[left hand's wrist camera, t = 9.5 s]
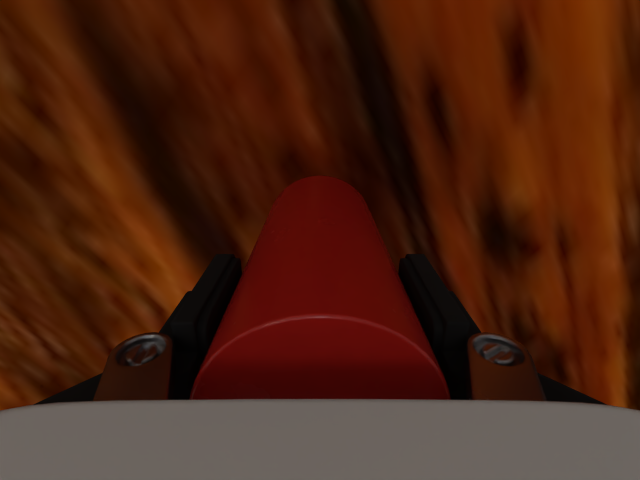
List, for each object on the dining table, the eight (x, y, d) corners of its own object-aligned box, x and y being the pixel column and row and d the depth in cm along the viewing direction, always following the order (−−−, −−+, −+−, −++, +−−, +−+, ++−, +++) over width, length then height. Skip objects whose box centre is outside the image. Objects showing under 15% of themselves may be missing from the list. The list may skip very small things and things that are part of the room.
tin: (389, 202, 18) (508, 378, 7) (342, 285, 19) (372, 535, 8) (294, 157, 17) (244, 269, 6) (254, 247, 19) (154, 470, 7)
